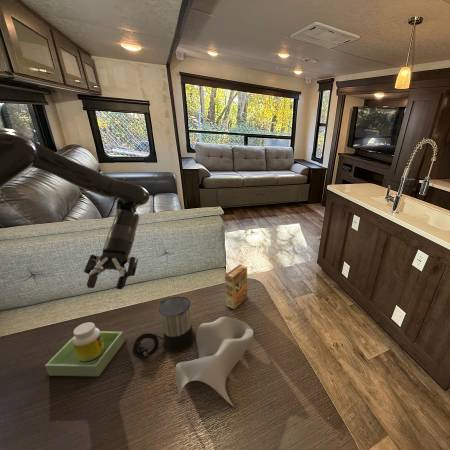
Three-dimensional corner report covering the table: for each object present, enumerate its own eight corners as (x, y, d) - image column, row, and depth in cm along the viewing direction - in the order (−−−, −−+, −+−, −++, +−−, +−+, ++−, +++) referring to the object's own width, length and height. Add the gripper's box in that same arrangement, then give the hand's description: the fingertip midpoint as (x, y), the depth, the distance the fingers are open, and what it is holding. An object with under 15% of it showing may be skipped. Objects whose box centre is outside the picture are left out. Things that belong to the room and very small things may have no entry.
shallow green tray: (48, 375, 68) (44, 365, 67) (82, 339, 80) (79, 330, 78) (98, 376, 69) (95, 366, 68) (125, 340, 81) (122, 331, 79)
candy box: (234, 309, 98) (233, 277, 92) (225, 306, 99) (224, 274, 94) (247, 297, 105) (247, 266, 99) (239, 293, 107) (239, 263, 101)
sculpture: (204, 328, 88) (202, 307, 84) (257, 333, 88) (257, 312, 84) (167, 401, 65) (163, 376, 61) (239, 407, 65) (238, 383, 61)
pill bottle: (107, 356, 75) (99, 329, 70) (81, 369, 70) (70, 340, 66) (104, 343, 78) (95, 317, 74) (78, 354, 74) (68, 327, 70)
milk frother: (200, 336, 85) (197, 302, 79) (159, 374, 71) (151, 336, 66) (171, 321, 90) (166, 287, 84) (127, 353, 77) (117, 317, 71)
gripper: (90, 235, 80) (71, 285, 74) (136, 237, 81) (121, 287, 75) (105, 242, 87) (89, 289, 81) (147, 244, 88) (134, 290, 82)
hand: (104, 288), depth 78 cm, fingers open, 8 cm apart
